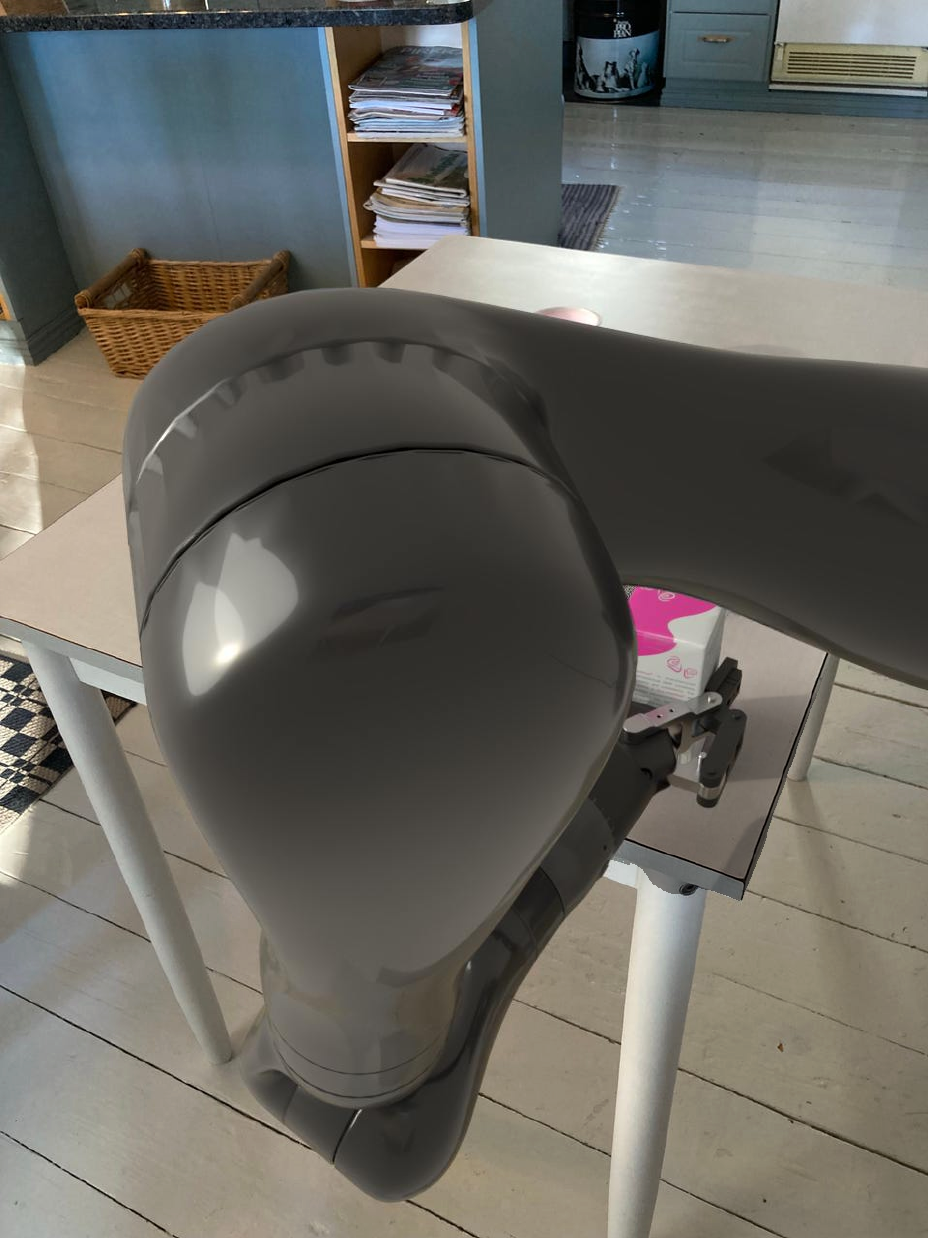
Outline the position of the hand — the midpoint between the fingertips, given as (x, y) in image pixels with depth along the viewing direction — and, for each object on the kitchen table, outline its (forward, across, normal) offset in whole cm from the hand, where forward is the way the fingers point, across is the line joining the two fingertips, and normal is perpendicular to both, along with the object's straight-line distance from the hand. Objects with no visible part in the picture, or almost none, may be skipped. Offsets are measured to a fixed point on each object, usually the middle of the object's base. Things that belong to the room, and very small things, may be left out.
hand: (680, 650), depth 64 cm
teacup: (+44, +34, +7) cm, 56 cm away
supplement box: (-2, 0, +7) cm, 7 cm away
